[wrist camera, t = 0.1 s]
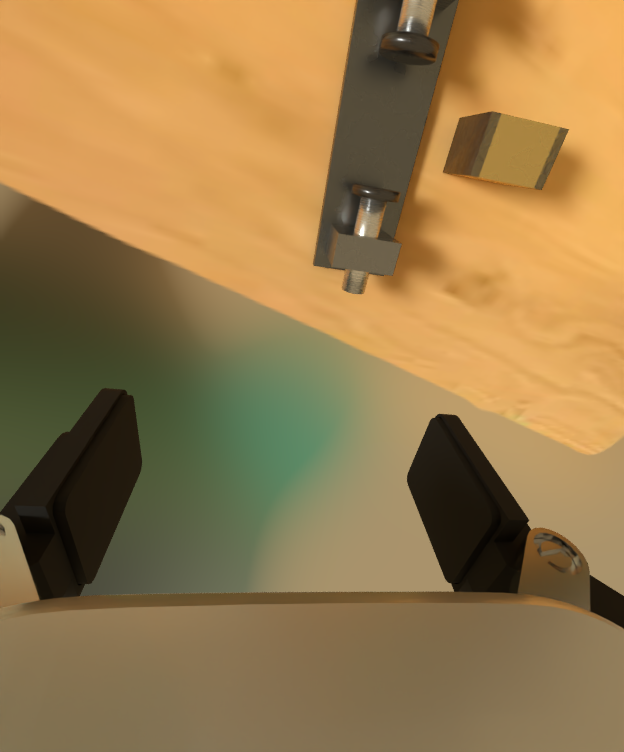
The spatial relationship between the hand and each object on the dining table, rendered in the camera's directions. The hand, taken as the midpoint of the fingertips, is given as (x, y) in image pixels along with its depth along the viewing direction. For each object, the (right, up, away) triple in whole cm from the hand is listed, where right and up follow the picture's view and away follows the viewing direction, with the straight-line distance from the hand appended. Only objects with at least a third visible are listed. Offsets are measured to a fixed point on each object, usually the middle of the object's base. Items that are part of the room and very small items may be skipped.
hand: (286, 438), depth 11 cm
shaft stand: (+7, +25, +22) cm, 34 cm away
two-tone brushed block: (+18, +24, +24) cm, 38 cm away
